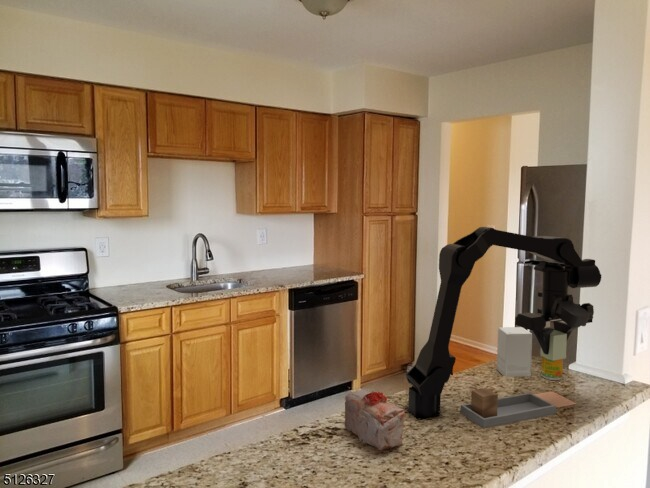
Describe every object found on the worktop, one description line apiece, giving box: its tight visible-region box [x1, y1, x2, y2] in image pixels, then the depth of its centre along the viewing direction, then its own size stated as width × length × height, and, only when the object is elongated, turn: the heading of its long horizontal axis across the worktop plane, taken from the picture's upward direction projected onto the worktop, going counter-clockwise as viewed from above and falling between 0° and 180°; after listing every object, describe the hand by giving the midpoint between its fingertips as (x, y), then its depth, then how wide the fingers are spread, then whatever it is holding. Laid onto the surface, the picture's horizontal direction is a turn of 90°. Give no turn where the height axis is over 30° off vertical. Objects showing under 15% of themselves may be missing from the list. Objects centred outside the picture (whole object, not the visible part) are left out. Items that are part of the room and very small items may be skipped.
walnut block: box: [470, 387, 499, 418], centre depth 113 cm, size 4×4×6 cm
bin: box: [460, 392, 557, 429], centre depth 115 cm, size 20×8×2 cm, turn 111°
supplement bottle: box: [540, 356, 564, 381], centre depth 139 cm, size 5×5×10 cm
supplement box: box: [496, 326, 533, 377], centre depth 142 cm, size 7×7×13 cm
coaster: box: [533, 391, 578, 409], centre depth 123 cm, size 8×8×1 cm
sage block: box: [539, 330, 568, 361], centre depth 121 cm, size 4×4×6 cm
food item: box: [344, 389, 406, 451], centre depth 104 cm, size 14×8×10 cm, turn 35°
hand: (553, 352), depth 121 cm, fingers closed on sage block, 4 cm apart
